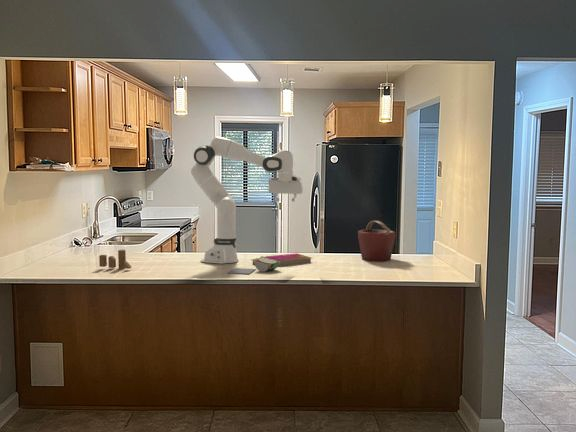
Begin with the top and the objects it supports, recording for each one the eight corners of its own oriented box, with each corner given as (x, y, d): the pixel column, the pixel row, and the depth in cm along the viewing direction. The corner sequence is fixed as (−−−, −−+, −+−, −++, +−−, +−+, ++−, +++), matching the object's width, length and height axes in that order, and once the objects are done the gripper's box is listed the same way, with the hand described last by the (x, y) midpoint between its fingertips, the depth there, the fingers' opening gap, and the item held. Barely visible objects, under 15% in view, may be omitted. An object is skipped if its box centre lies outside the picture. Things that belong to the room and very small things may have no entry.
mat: (227, 273, 294) (227, 272, 294) (234, 269, 308) (234, 268, 308) (248, 274, 292) (248, 273, 292) (255, 270, 305) (255, 268, 305)
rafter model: (264, 269, 311) (264, 258, 310) (250, 265, 322) (250, 255, 322) (312, 263, 331) (312, 253, 331) (298, 260, 343) (298, 250, 342)
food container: (270, 276, 297) (280, 271, 305) (270, 265, 296) (280, 260, 304) (251, 271, 303) (261, 265, 312) (252, 260, 302) (262, 255, 310)
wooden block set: (98, 270, 301) (97, 252, 300) (104, 266, 310) (104, 248, 308) (129, 271, 300) (129, 253, 298) (135, 267, 308) (135, 249, 306)
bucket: (398, 264, 329) (399, 222, 327) (361, 264, 327) (362, 222, 325) (387, 258, 353) (388, 219, 351) (353, 258, 352) (354, 219, 350)
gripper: (267, 177, 324) (267, 201, 325) (301, 178, 320) (301, 201, 321) (269, 177, 330) (269, 200, 332) (303, 178, 326) (303, 201, 327)
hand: (285, 201), depth 326 cm, fingers open, 8 cm apart
